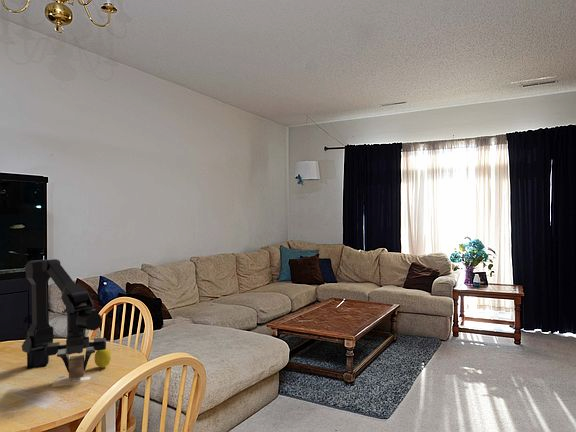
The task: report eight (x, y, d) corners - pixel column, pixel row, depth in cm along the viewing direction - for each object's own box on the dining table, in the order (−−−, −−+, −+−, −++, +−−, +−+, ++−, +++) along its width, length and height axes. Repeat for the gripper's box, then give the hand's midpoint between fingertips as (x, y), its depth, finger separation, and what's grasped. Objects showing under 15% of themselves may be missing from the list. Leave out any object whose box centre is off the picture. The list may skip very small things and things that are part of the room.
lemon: (104, 371, 155) (104, 349, 155) (91, 370, 156) (91, 348, 156) (114, 366, 161) (113, 344, 161) (100, 365, 162) (100, 344, 162)
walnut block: (68, 378, 145) (68, 360, 145) (70, 373, 149) (70, 356, 149) (83, 376, 147) (83, 359, 147) (84, 371, 151) (84, 354, 151)
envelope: (51, 387, 141) (51, 386, 141) (55, 377, 150) (55, 376, 150) (98, 381, 146) (98, 380, 146) (99, 371, 155) (99, 370, 155)
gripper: (41, 335, 137) (41, 384, 137) (105, 329, 144) (105, 375, 144) (47, 326, 147) (47, 371, 148) (106, 321, 154) (106, 364, 154)
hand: (76, 371), depth 148 cm, fingers closed on walnut block, 4 cm apart
